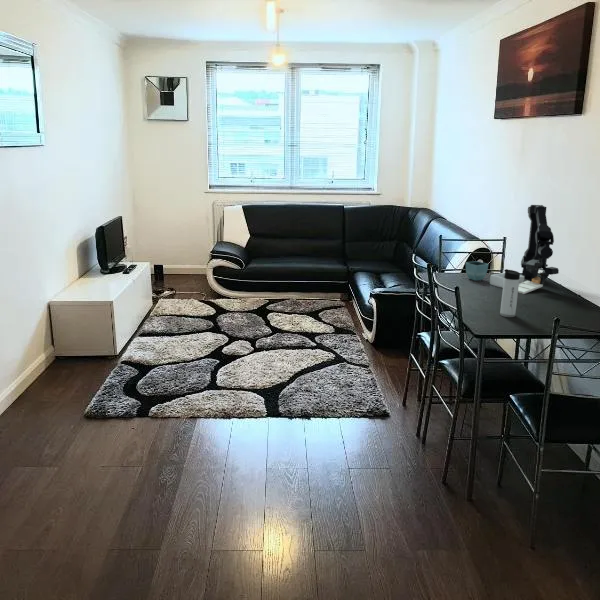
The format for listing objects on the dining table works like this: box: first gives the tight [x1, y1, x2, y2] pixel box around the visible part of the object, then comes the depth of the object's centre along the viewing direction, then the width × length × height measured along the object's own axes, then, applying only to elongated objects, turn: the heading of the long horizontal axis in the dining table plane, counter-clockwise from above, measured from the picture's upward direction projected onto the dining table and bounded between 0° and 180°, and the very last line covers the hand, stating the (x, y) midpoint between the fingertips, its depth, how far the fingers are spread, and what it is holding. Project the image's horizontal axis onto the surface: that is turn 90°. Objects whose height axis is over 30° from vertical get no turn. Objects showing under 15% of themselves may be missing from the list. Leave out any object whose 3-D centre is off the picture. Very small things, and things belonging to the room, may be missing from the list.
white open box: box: [489, 272, 525, 289], centre depth 320 cm, size 14×10×5 cm
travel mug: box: [499, 269, 521, 318], centre depth 265 cm, size 6×7×20 cm
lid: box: [518, 276, 544, 295], centre depth 311 cm, size 18×10×2 cm, turn 121°
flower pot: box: [465, 260, 489, 281], centre depth 329 cm, size 9×9×9 cm
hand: (537, 284), depth 315 cm, fingers closed on lid, 4 cm apart
